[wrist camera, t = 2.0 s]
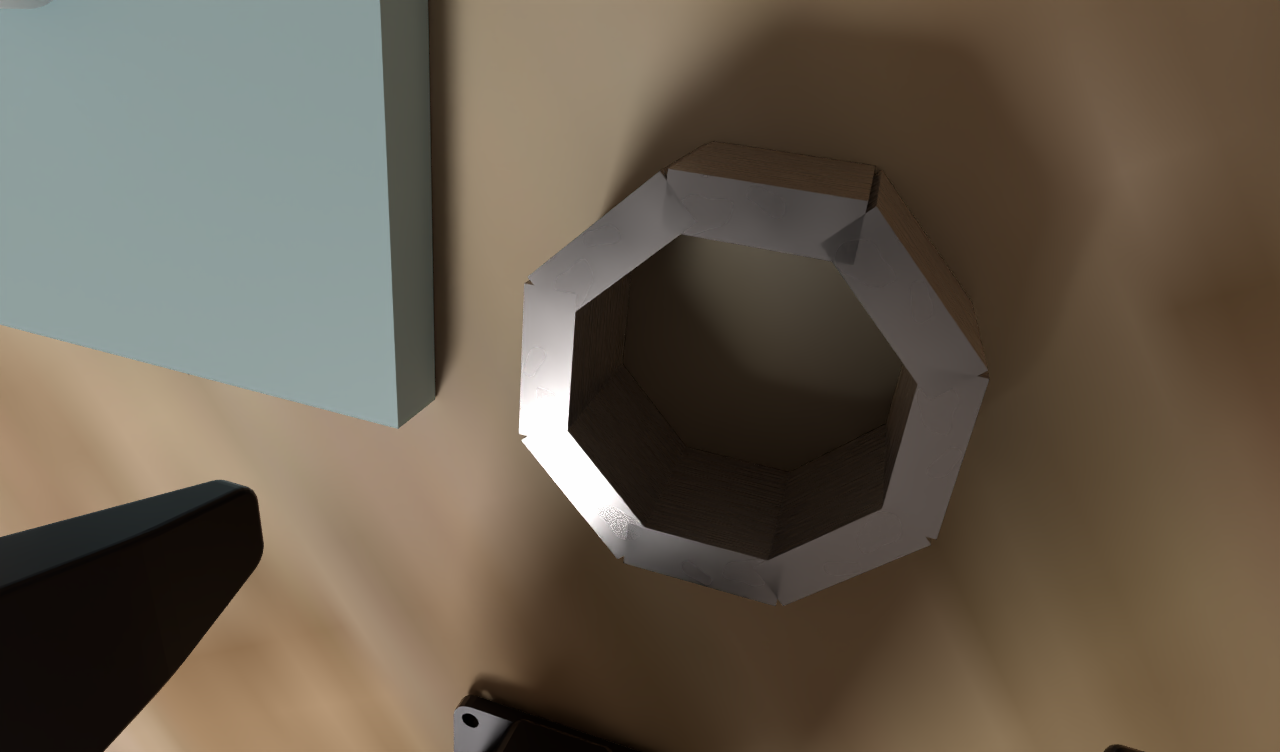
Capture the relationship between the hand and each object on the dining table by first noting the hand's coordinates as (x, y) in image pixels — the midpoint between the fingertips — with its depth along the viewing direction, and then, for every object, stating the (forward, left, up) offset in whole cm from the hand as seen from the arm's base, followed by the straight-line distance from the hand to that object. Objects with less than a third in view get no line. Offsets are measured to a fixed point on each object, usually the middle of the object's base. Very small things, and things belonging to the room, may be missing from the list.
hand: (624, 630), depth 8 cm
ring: (0, 0, -8) cm, 8 cm away
